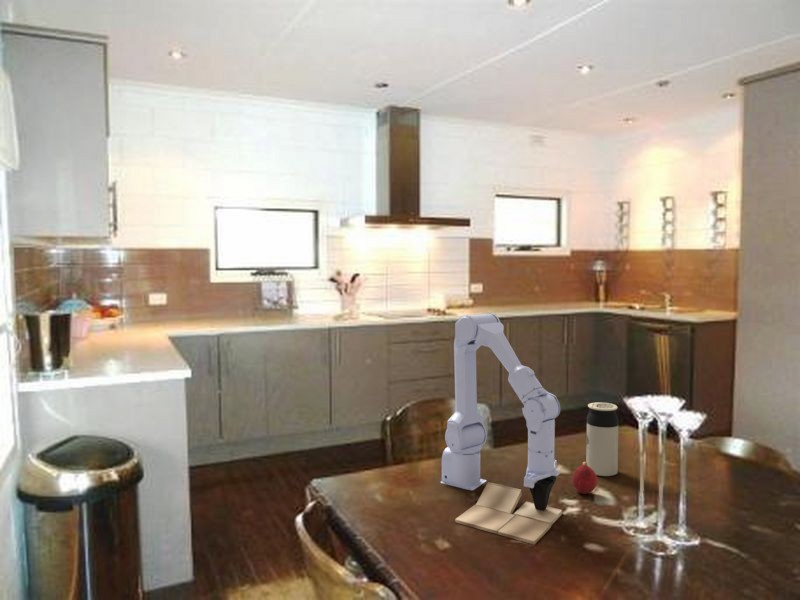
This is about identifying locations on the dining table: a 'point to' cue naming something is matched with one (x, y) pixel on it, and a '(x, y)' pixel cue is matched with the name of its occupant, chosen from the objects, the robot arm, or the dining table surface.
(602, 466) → the travel mug
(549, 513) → the plank
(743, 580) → the dining table surface
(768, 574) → the dining table surface
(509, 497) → the plank
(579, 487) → the onion
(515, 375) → the robot arm
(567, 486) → the dining table surface
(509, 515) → the laid row
